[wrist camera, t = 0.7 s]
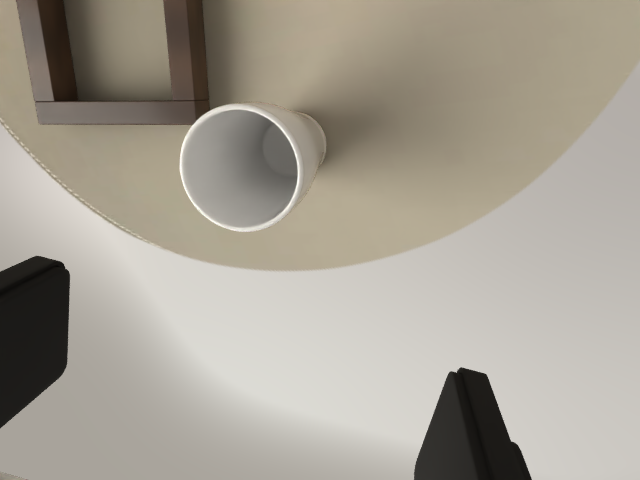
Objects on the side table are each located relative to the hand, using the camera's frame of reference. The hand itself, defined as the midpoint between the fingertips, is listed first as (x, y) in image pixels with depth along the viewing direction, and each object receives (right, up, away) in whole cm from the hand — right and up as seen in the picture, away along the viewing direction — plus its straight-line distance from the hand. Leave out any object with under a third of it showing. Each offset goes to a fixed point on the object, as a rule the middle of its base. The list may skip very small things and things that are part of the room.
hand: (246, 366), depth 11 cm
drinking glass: (0, +11, +27) cm, 29 cm away
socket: (-14, +20, +26) cm, 36 cm away
